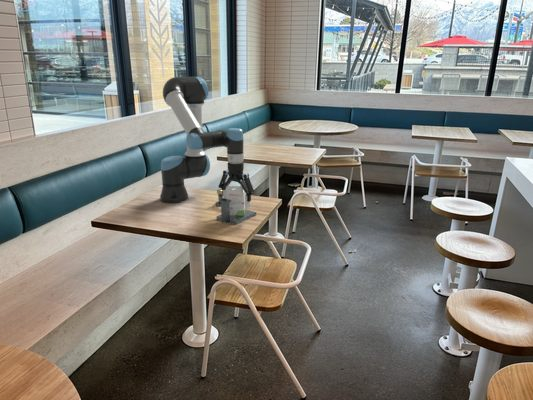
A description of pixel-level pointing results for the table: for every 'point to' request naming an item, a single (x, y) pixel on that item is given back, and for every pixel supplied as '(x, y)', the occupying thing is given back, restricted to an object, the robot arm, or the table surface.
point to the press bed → (228, 218)
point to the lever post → (218, 200)
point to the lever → (219, 191)
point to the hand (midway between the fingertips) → (236, 205)
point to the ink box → (236, 200)
